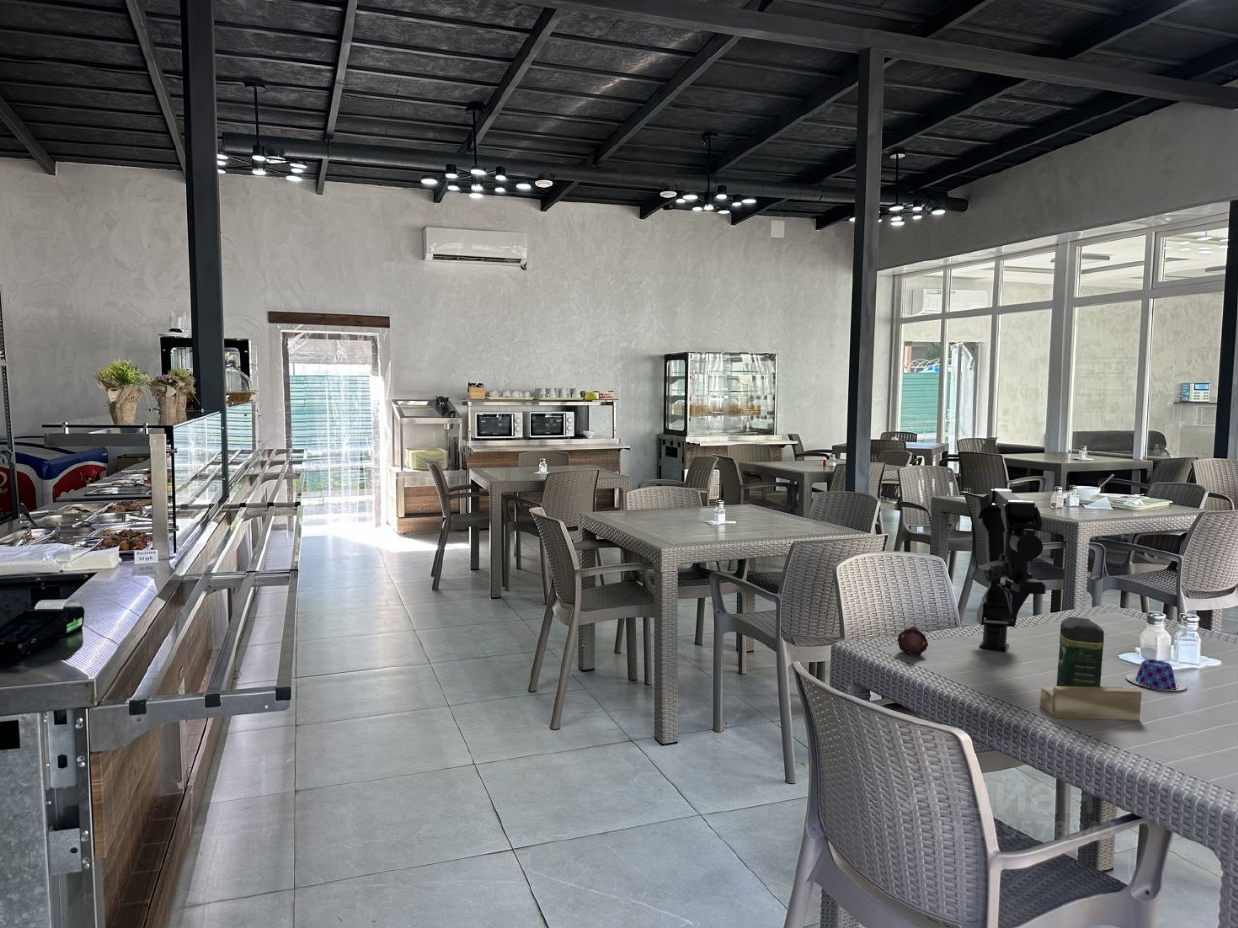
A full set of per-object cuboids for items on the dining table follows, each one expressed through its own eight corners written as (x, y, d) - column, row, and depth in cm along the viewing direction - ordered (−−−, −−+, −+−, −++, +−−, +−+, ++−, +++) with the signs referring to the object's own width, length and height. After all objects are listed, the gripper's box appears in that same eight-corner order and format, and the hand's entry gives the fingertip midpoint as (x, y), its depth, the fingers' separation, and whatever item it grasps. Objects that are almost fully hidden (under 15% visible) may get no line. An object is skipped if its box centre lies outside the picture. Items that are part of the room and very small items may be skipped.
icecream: (933, 639, 204) (929, 628, 218) (902, 628, 206) (901, 619, 221) (924, 666, 205) (921, 653, 219) (894, 655, 207) (893, 643, 221)
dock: (1039, 705, 178) (1041, 678, 178) (1119, 707, 178) (1121, 679, 178) (1056, 717, 171) (1058, 689, 171) (1139, 719, 171) (1141, 691, 171)
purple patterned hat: (1122, 672, 202) (1124, 651, 202) (1181, 680, 197) (1183, 659, 197) (1128, 688, 191) (1130, 665, 191) (1191, 697, 186) (1192, 674, 186)
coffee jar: (1103, 714, 174) (1109, 627, 172) (1061, 709, 176) (1066, 624, 174) (1092, 699, 183) (1097, 616, 181) (1052, 694, 185) (1057, 612, 184)
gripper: (968, 543, 212) (965, 604, 213) (1000, 558, 193) (996, 624, 194) (1012, 544, 211) (1008, 605, 213) (1048, 559, 193) (1044, 625, 194)
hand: (1013, 614), depth 203 cm, fingers closed
